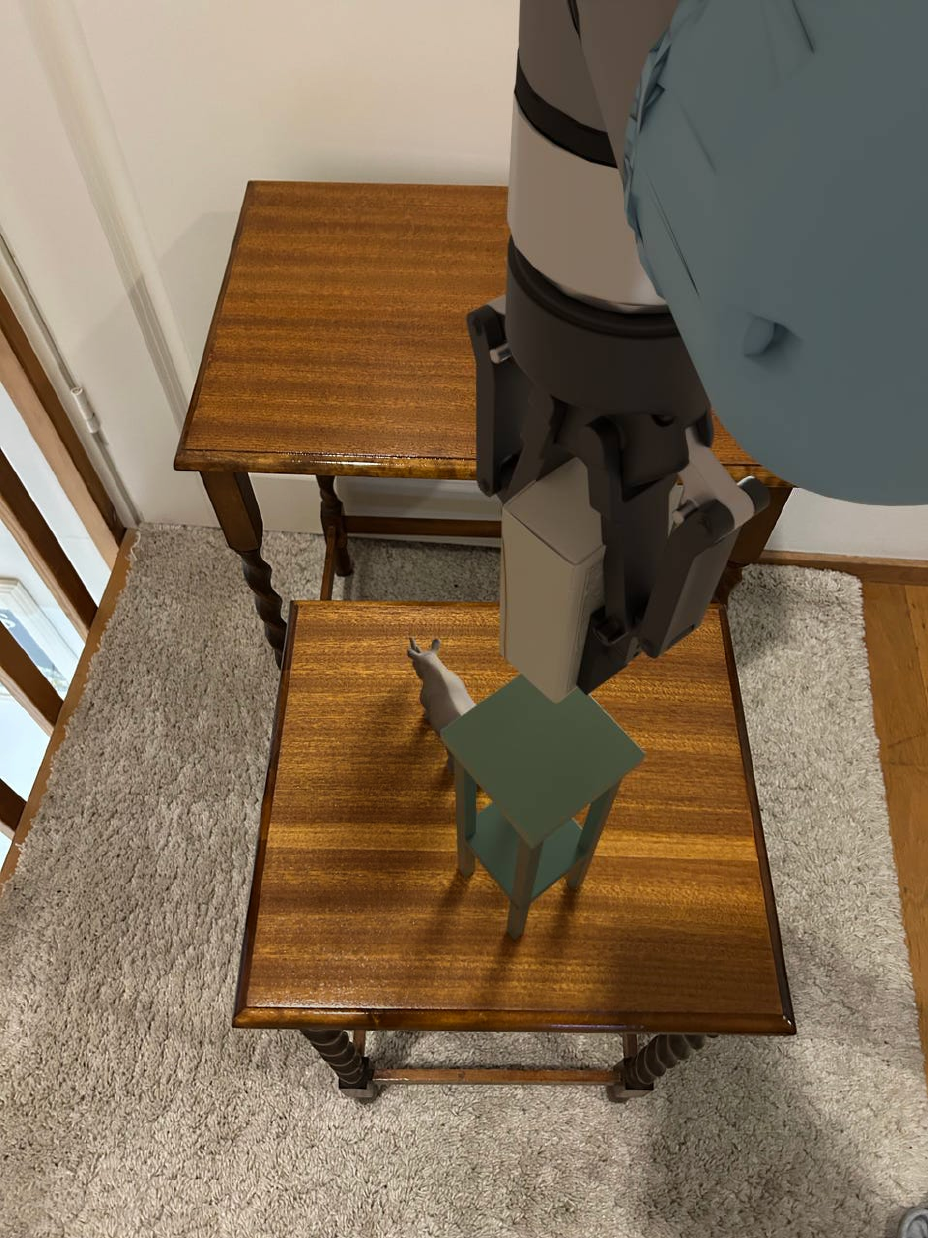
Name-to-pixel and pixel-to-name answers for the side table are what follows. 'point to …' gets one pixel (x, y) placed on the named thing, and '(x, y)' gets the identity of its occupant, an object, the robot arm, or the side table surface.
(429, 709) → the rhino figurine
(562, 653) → the cosmetic box
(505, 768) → the green square board
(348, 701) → the side table surface
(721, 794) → the side table surface
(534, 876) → the stand
